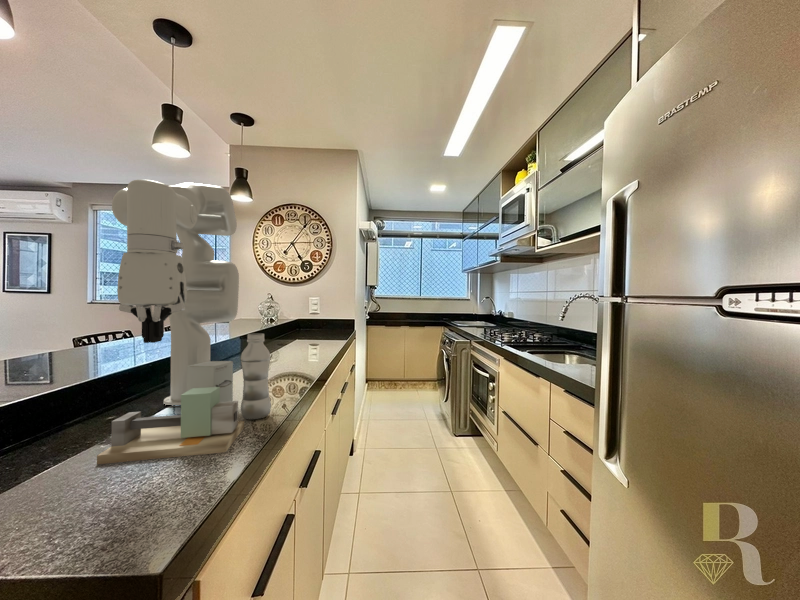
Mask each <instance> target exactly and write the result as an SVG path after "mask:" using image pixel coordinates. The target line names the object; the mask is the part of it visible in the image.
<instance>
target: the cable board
mask: <svg viewBox="0 0 800 600" xmlns="http://www.w3.org/2000/svg"><path fill="white" fill-rule="evenodd" d="M244 429H245V420H239V400H233V401H229V402H219V403H217V404H216V405H215V406H214V407H212V408H211V435H210V436H198V437H186V438H181V414H175V415H163V416H162V415H161V416H147V417H146V416H145V417H142V411H131V412H127V413H126V414H123V415H121V416H120V417H118V418H116V419H114V420H111V439H110V441H111V444H110V445H111V446H110V447H108V448H107V449H105V450H103V451H102V452H100V453H99V454H97V455H96V465H105V464H107V465H108V464H115V463H124V462H136V461H138V462H139V461H146V460H159V459H167V458H168V459H169V458H170V459H171V458H179V457H189V456H199V455H210V454H219V453H220V454H221V453H227V452H228V450H229V449H230V447H231V446H232V445H233V443H234V442H235V441H236V440H237V438H238V437H239V435H240V434H241V433H242V431H243V430H244Z"/></svg>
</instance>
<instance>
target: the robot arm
mask: <svg viewBox="0 0 800 600" xmlns="http://www.w3.org/2000/svg"><path fill="white" fill-rule="evenodd" d="M234 207H235V206H234V203H233V199H232V197H231V194H230V192H229V191H228V190H227V189H226V188H225V187H223V186H220V185H219V186H218V185H212V184H203V183H196V182H195V183H194V182H182V183H178V184H175V185H168V184H166V183H163V182H159V181H157V180H151V179H133V180H131V181H130V182H128V184H127V186H126V188H121V189H120V190H118V191H117V192H116V193H115V194H114V196H113V198H112V201H111V210H112V214H113V216H114V217H115V219H116V220H117V221H118V223H120V224H121V225H123V226H125V227H126V242H127V243H126V246H127V247H126V248H127V250H126V252H123V253H122V257H121V260H120V265H119V271H118V276H117V277H118V278H117V293H116V294H117V299H118V302H119V307H118V310H119V311H121V312H123V313H129V314H132V315H134V316H135V317H136V318H137V319H138V321H139V322H140V323H141V338H142V340H143V343H144V344H149V343H150V344H151V343H152V344H153V343H157V342H158V343H159V342H161V341H162V340H163V337H164V335H165V331H164V330H165V325H164V323H165V321H167V320H168V319H169V327H170V395H169V396H167V397H164V399H163V405H164V404H165V405H164V406H166V405H172V406H171V407H174V406H173V405H181V395H182V394H184V393H185V392H187V366H190V365H194V364H199V363H203V362H207V361H211V344H212V343H211V342H212V341H211V336H210V334H209V333H208V332H207V330H206V329H205V328H204V327H203V326H202V325H201V324H205V323H206V324H207V323H210V324H211V323H229V322H232V321H234V320H235V319H236V317H237V315H238V308H239V291H240V290H239V288H240V286H239V285H240V277H239V276H240V274H239V269H238V266H237V265H236V264H235V263H233V262H231V261H226V260H215V251H214V248H213V247H212V245H210V243H208V241H206V240H205V239H204V238H203V237H202V236H201V235H207V236H209V235H210V236H221V237H229V236H233V235H234V234H235V233H236V230H237V217H236V211H235V208H234ZM177 239H178V240H177ZM180 250H182V252H181V255H179V254H178V253H179V252H178V251H180ZM152 306H154V308H153V307H152ZM167 318H168V319H167Z"/></svg>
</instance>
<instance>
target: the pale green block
mask: <svg viewBox="0 0 800 600" xmlns="http://www.w3.org/2000/svg"><path fill="white" fill-rule="evenodd" d="M219 402H220V387H208V388H192V389H191V390H189V391H187V392H185V393H184V394H182V395H181V406H180V415H181V438H186V437H198V436H210V435H211V408H212V407H214V406H215V405H216V404H217V403H219Z"/></svg>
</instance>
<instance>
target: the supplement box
mask: <svg viewBox="0 0 800 600" xmlns="http://www.w3.org/2000/svg"><path fill="white" fill-rule="evenodd" d="M233 368H234V361H233V360H232V361H231V360H221V361H220V360H212V361H211V360H210V361H207V362H203V363H199V364H194V365H190V366H187V391H189V390H191V389H192V388H208V387H220V402H229V401H234V400H233V396H234V395H233V392H234V391H233V388H234V386H233V385H234V382H233V381H234V378H233V377H234V376H233V375H234V373H233V371H234V369H233Z"/></svg>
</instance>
